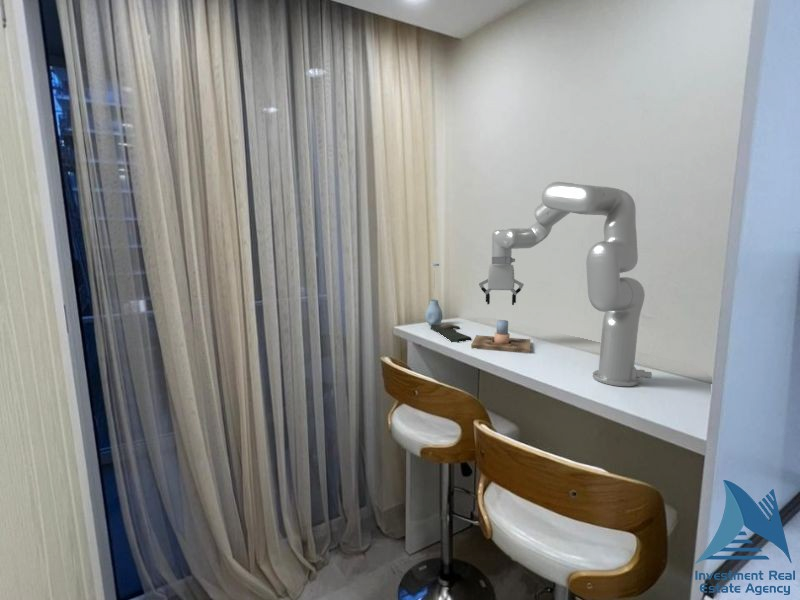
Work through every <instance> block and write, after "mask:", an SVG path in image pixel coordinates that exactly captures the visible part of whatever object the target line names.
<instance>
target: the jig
mask: <svg viewBox="0 0 800 600" xmlns="http://www.w3.org/2000/svg"><path fill="white" fill-rule="evenodd" d="M494 337H495V336H490V335H479V334H477V335H475V337H474V339H473V341H472V343H471V349H474V348H477V349H476V350H488V351H499V352H510V353H511V352H512V353H522V354H531V339H530V338H519V337H518V338H516V337H509V344H496V343H494Z"/></svg>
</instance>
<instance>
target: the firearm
mask: <svg viewBox="0 0 800 600" xmlns="http://www.w3.org/2000/svg"><path fill="white" fill-rule="evenodd" d="M453 328H457V329H453ZM430 329H431V330H432V331H434V332H436V333H438V332H439V333H440V334H441V335H443V336H444V337H446V338H447V339H449V340H450V341H451V343H452V342H457V343H460V342H459V341H463V342H467V341H466V340H471V341H472V337H471V336H468V335H467V334H463V333H461V332H458V330H460V326H459V325H456V324H444V325H435V324H432V325H430ZM439 333H438V334H439ZM440 334H439V335H440ZM441 335H440V336H441ZM443 336H442V337H443ZM444 337H443V338H444ZM446 338H445V339H446ZM447 339H446V340H447ZM449 340H448V341H449ZM450 341H449V342H450Z"/></svg>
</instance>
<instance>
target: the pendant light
mask: <svg viewBox="0 0 800 600" xmlns="http://www.w3.org/2000/svg"><path fill="white" fill-rule="evenodd" d="M439 266H440V263H430V267H439ZM433 272H434V274H433V275H434V277H433V278H434V281H433V282H434V283H433V284H434V285H433V288H434V289H435V283H436V281H435V280H436V279H435V276H436V271H433ZM424 319H425V321H426V323H427V325H430V326H431V325H432V324H435V325H437V326H440V324H441V323H442V321H443V310H442V309H441V307H440V305H439V300H438V299H431V300H430V301H429V304H428V306H427V308H426V310H425V318H424Z"/></svg>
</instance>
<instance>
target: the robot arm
mask: <svg viewBox="0 0 800 600" xmlns="http://www.w3.org/2000/svg"><path fill="white" fill-rule="evenodd" d="M543 189H544V190H543V191H542V194H541V204H539V205H537V206H536V208H535V209H534V218H535V220H536V222H535V223H533V224H532V225H531V226H529V227H528V228H519V227H518V228H507V229H496V230H494V231H492V235H491V236H492V237H491V264H490V265H489V267H488V268H489V269H488V277H487V279H485V280H483V281H480V282H479V283H478V286H479V288H480V289H481V291H482V292H483V293H484V294H485V302H486V305H490V303H491V302H490V301H491V300H490V299H491V298H490V297H491V296H490V295H491V294H490V292H491V291H511V293H512V294H511V304H512V305H511V306H514V305H515V304H516V303H517V294H519V293H520V292H521V291H522V289H523V287H524V283H523V282H521V281H519V280H517V279H515V268H514V264H512V263H515V262H516V258H513V257H512V251H513V249H515V250H516V249H518V250H519V249H531V248H533V247H535V246H537V245H538V244H540V243H541V242H543V241H544V240H545V239H547V237H548V236H549V235H550V233H551V231H552V229H553V226H555V225H556V224H557V223H558V222H560V221H561V220H563V219H564V218H565V217H566V216H568V215H570V213H571V214H578V215H589V216H605V217H606V219H605V221H604V225H603V239H604V240H603V241H602V240H601V241H598V242H596V243H595V244H594V245H592V247H591V248H590V249H589V251H588V253H587V255H586V265H585V266H586V278H587V279H586V280H587V281H586V283H587V295H588V300H589V302H590V304H591V306H592V307H593V308H594V309H595V310H597V311H599V312H605V313H604V316H603V319H602V320H603V321H602V328H601V336H600V337H601V339H600V349H599V360H598V363H599V364H598V369H597V370H594V371H593V372H592V377H593V379H594V380H595V381H598V382H600V383H602V384H607V385H610V386H616V387H634V386H638V385H639V382H640V381H639V380H640V378H644V379H652V377H653V373H652V371H645V369H637V368H636V367H635V362H636V352H637V342H638V340H637V339H638V332H639V324H640V317H641V312H642V308H643V306H644V302H645V290H644V287H643V285H642V284H641V283H640V282H639V281H638V280H637V279H635V278H632V277H629V276H628V277H624V276H622V277H621V276H620V274H622V273H627V272H630V271H632V270H634V268H635V267H636V266H637V264H638V261H639V259H638V258H639V255H638V254H639V253H638V239H637V238H638V236H637V235H638V234H637V224H636V223H637V220H636V213H637V211H636V204H635V201H634V198H633V197H632V195H630V194H629V193H628V192H626V191H625V190H623V189H619V188H614V187H609V186H602V185H600V186H599V185H590V184H580V183H579V184H576V183H573V182H565V181H554V182H551V183H550V184H547V186H545V188H543ZM486 284H487V289H486V288H485V287H484V285H486ZM515 284H516V285H518V288H516V289H515Z"/></svg>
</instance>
